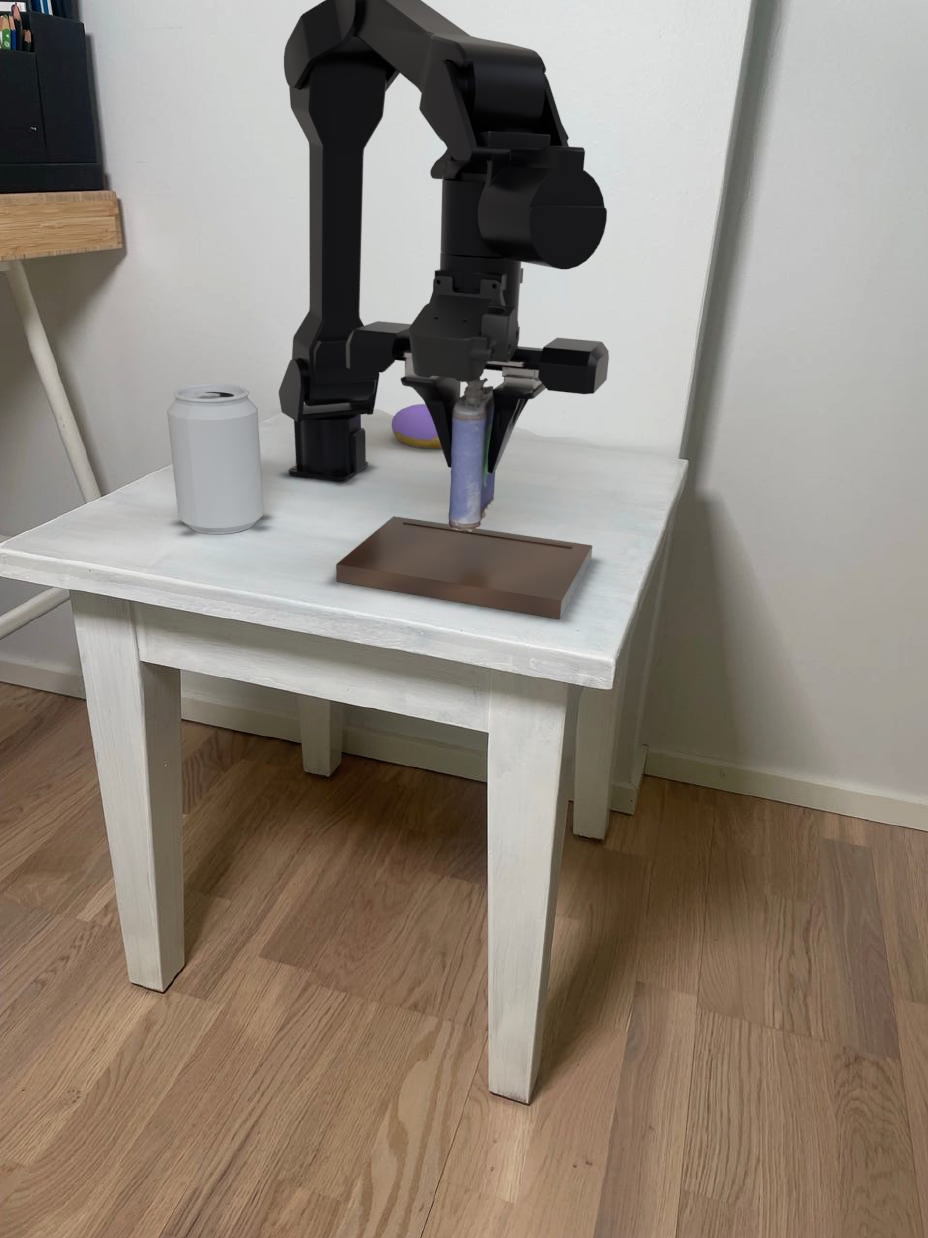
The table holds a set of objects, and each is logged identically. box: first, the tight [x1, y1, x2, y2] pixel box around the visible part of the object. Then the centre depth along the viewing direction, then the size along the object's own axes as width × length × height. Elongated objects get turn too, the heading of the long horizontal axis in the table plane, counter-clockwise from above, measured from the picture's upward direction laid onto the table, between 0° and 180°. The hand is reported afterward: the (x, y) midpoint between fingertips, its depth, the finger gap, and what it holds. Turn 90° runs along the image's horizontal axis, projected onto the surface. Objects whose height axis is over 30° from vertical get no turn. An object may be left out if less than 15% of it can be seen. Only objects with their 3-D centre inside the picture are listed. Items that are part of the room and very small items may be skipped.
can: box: [166, 383, 265, 535], centre depth 81 cm, size 8×8×12 cm
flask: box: [447, 377, 496, 531], centre depth 71 cm, size 9×3×11 cm, turn 168°
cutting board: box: [335, 515, 593, 620], centre depth 75 cm, size 18×12×2 cm, turn 72°
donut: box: [391, 403, 442, 450], centre depth 109 cm, size 10×9×5 cm
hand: (471, 469), depth 72 cm, fingers closed on flask, 3 cm apart
